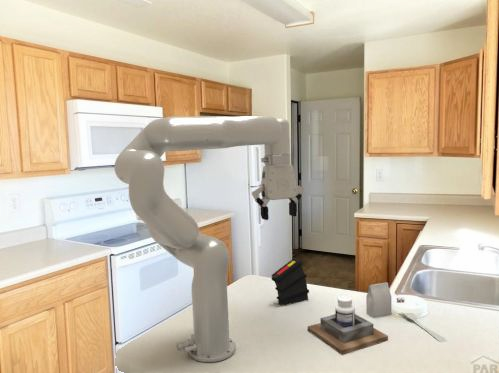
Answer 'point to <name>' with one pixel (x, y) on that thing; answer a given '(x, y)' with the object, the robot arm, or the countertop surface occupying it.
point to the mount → (347, 334)
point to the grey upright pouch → (378, 300)
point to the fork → (435, 335)
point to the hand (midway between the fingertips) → (279, 217)
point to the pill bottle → (345, 312)
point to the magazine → (291, 283)
